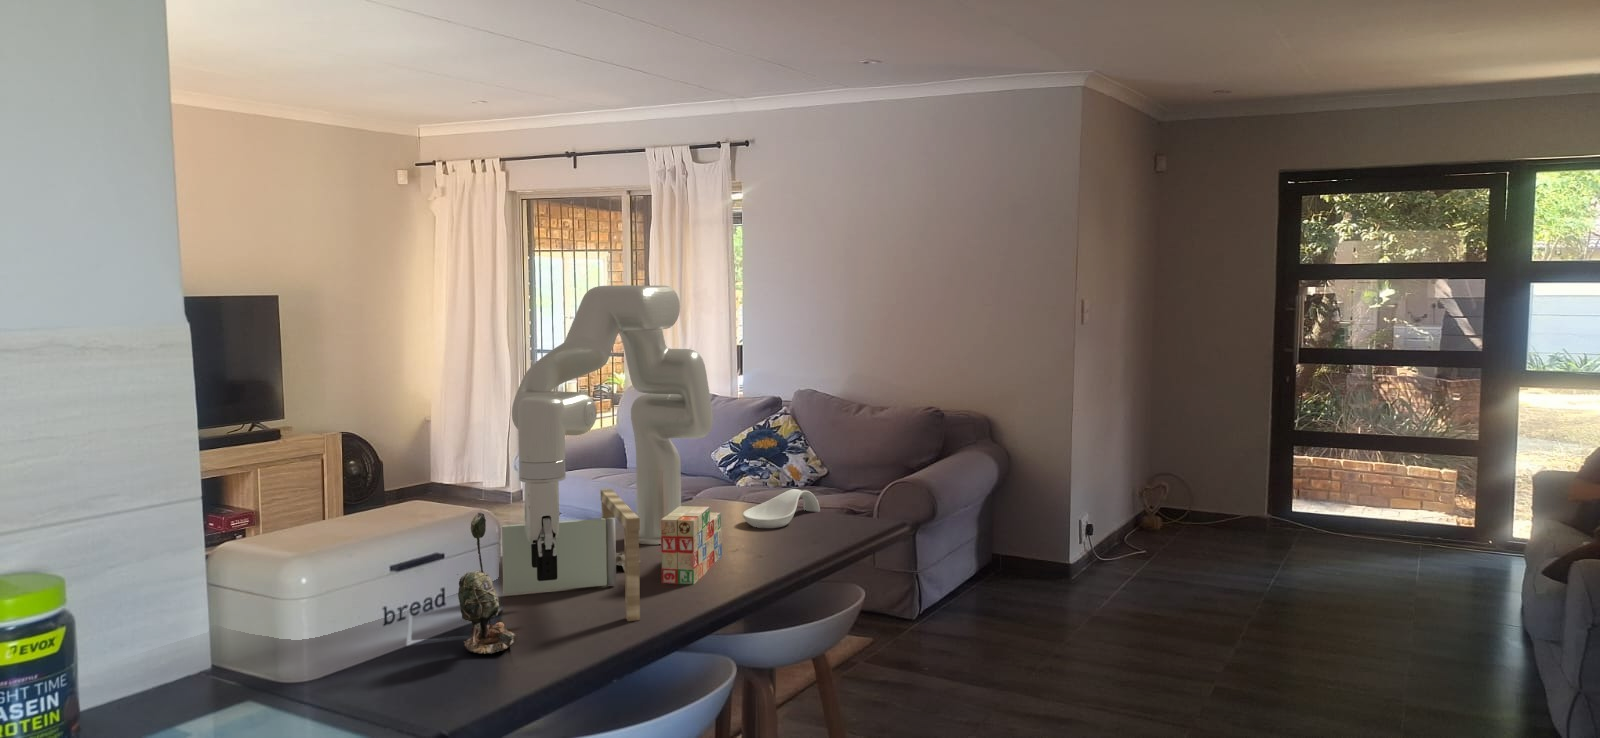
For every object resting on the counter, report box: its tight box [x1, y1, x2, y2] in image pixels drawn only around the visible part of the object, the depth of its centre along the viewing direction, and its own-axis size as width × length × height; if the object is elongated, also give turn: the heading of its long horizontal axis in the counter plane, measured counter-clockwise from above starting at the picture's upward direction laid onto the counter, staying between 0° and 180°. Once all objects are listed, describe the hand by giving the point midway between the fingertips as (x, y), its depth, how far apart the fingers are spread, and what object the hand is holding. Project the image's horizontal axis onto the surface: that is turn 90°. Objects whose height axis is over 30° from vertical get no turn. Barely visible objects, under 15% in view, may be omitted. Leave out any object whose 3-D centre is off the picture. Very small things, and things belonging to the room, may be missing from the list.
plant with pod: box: [456, 512, 516, 654], centre depth 163 cm, size 8×11×20 cm
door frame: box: [599, 488, 641, 622], centre depth 188 cm, size 28×2×17 cm, turn 19°
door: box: [501, 517, 617, 595], centre depth 194 cm, size 20×2×12 cm, turn 109°
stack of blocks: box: [660, 505, 723, 585], centre depth 209 cm, size 21×6×12 cm, turn 170°
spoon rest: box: [742, 488, 821, 529], centre depth 252 cm, size 24×12×7 cm, turn 146°
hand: (544, 573), depth 182 cm, fingers open, 8 cm apart
